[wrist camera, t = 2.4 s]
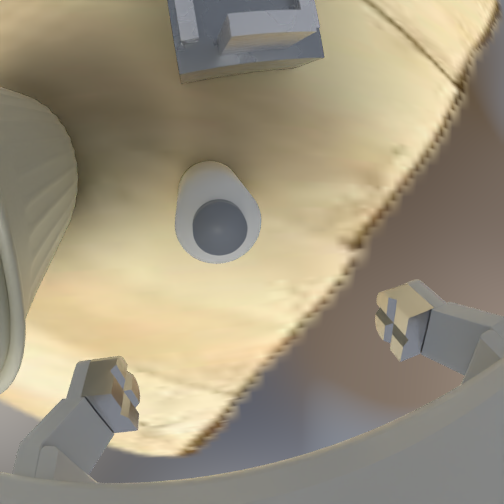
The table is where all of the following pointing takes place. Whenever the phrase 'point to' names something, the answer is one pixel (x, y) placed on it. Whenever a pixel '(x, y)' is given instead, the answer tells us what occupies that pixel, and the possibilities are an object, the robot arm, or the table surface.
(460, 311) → the robot arm
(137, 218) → the table surface
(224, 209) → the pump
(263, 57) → the grey holder stand
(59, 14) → the table surface
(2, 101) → the canister
